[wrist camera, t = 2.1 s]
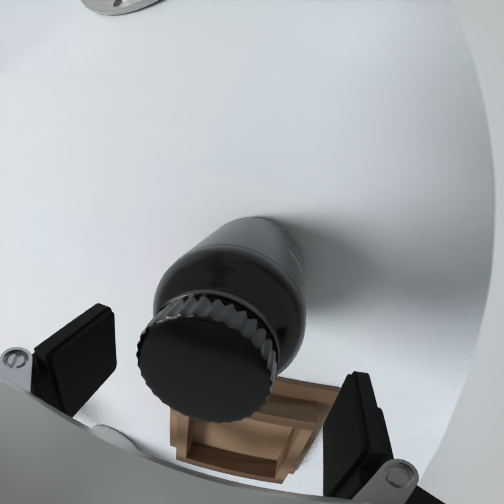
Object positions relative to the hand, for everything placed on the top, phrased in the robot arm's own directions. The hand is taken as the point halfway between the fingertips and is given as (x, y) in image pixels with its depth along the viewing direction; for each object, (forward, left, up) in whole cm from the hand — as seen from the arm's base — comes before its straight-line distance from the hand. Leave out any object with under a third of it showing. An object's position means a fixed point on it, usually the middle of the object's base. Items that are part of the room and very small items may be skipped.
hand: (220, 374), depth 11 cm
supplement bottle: (-1, 0, -11) cm, 11 cm away
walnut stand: (+15, +2, -11) cm, 19 cm away
